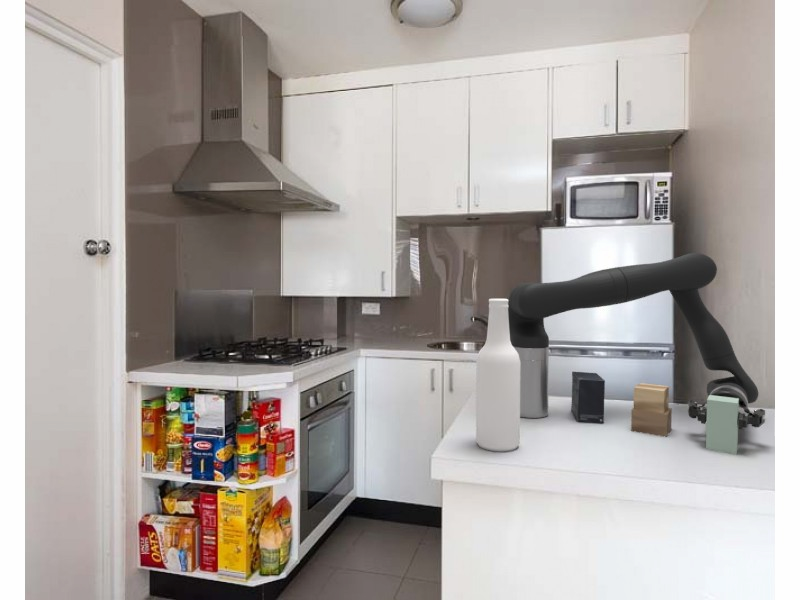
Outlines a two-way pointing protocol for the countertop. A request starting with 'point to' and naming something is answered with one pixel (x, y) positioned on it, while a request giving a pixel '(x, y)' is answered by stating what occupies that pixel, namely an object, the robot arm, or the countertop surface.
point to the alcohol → (498, 384)
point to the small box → (588, 397)
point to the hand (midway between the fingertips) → (721, 421)
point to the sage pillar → (722, 424)
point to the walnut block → (651, 422)
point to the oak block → (651, 398)
